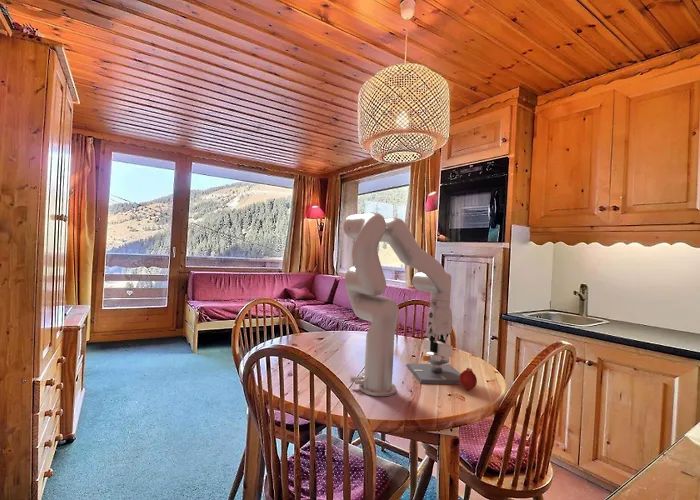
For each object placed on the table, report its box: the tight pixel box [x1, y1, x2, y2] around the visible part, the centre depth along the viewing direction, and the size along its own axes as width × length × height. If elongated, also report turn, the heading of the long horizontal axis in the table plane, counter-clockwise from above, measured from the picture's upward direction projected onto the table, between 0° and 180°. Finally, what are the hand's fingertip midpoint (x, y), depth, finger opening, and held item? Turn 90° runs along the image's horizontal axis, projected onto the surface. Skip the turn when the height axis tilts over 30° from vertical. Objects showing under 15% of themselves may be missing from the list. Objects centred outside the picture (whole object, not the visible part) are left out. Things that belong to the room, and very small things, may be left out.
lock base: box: [406, 362, 462, 385], centre depth 139 cm, size 18×18×6 cm
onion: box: [459, 367, 478, 392], centre depth 125 cm, size 6×6×8 cm
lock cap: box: [421, 337, 454, 364], centre depth 139 cm, size 11×13×7 cm
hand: (437, 351), depth 139 cm, fingers closed on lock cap, 3 cm apart
